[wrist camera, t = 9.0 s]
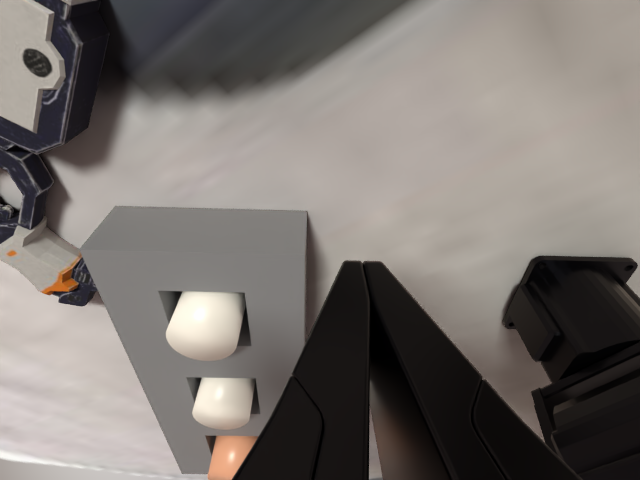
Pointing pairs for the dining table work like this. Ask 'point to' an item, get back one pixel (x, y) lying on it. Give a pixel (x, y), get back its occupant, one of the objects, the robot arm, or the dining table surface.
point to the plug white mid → (224, 402)
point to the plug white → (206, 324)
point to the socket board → (203, 276)
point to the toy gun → (45, 128)
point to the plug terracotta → (229, 455)
